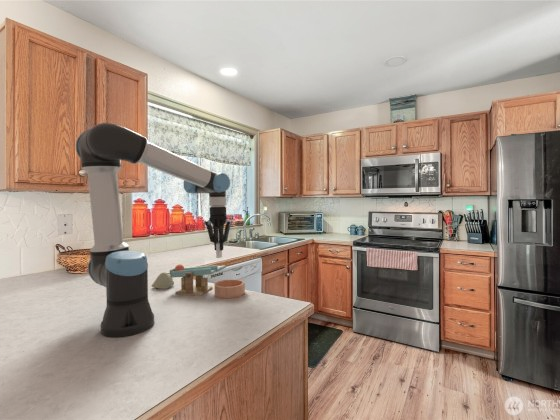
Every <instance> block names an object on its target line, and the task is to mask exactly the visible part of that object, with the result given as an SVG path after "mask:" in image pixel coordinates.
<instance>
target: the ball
mask: <svg viewBox="0 0 560 420" xmlns="http://www.w3.org/2000/svg"><path fill="white" fill-rule="evenodd" d="M174 268H175V271H183V270H184V268H185V266H184V265H183V264H179V263H178V264H177V265H175V267H174Z"/></svg>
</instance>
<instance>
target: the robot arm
mask: <svg viewBox="0 0 560 420" xmlns="http://www.w3.org/2000/svg"><path fill="white" fill-rule="evenodd" d="M75 151H76V154H77V155H78V157H79V158H80V163H81V164H80V166H81V170H83V171H84V172H85V173H86V174H87V179H88V180H87V182H88V190H89V199H90V210H91V220H92V231H93V233H92V234H93V242H94V244H93V246H92V247H91V248H90V249H89V255H90V260H89V261H88V264H87V273H88V275H89V277H90V279H92V281H93V282H94V283H95V284H98V285H99V286H101V287H102V286H103V287H105V289H106V290H105V291H106V292H105V293H106V294H105V295H106V307H105V310H104V313H103V317H102V321H101V322H100V334H101V335H102V336H104V337H108V338H120V337H121V338H122V337H128V336H132V335H136V334H139V333H142V332H145V331H147V330H149V329H150V328H152V326H153V325H154V324H155V314H154V312H153V311H152V308H151V303H150V302H149V283H148V281H149V279H148V277H149V276H148V271H149V270H148V268H149V264H148V258H147V255H146V254H145V253H143V252H141V251H137V250H134V251H133V250H130V248H129V244H127V243H126V242H125V241H124V234H123V225H122V215H121V214H122V213H121V201H120V191H119V179H118V173H119V172H120V170H122V161H124V162H128V163H130V164H133V165H136V164H142V165H144V166H146V167H149V168H150V169H151V168H152V169H155V170H156V171H160V172H162V173H165V174H166V175H170V176H171V177H174V178H177V179H179V180H183V189H184V191H185V192H186V193H187V194H192V195H193V194H208V195H209V198H208V199H209V200H208V201H209V206H210V207H209V219H208V220H207V221H204V225H205V227H206V230H207V233H208V236H209V237H208V238H209V240H210V241H209V242H210V243H213V244H214V245H213V246H214V251H215V252H216V256H215V257H216V259H221V258H223V251H224V244H225V243H226V242H228V239H229V234H230V229H231V226H232V224H233V221H231V220H229V219H228V217H227V207H226V206H227V191H228V190H229V188H230V185H231V179H230V177H229V175H227V174H226V173H225V172H219V171H218V172H215V171H213V170H210V169H208V168H206V167H203V166H201V165H199V164H197V163H195V162H193V161H191V160H188V159H186V158H184V157H182V156H179V155H178V154H176V153H173V152H172V151H169V150H168V149H165V148H163V147H160V146H158V145H156V144H154V143H151V142H149V141H148V138H147V137H146V136H145V135H141V134H140V133H138V132H135V131H133V130H131V129H128V128H126V127H125V126H123V125H122V126H121V125H120V124H119V125H118V124H117V123H110V122H103V123H97V124H96V125H93V127H91V128H89V129H87V130H84V131H83V132H82V133H80V134H79V136H78V138H77V139H76V142H75Z"/></svg>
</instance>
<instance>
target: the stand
mask: <svg viewBox="0 0 560 420" xmlns="http://www.w3.org/2000/svg"><path fill="white" fill-rule="evenodd" d="M208 278H209V277H208V276H207V277H204V275H198V276H195V285H194V276H193V273H191V272H186V273H185V277H180V283H181V284H180V287H181V289H178V290H177V291H175V295H185V296H188V295H189V296H197V297H199V296H200V297H201V296H202V295H204V294H206V293H208V292H209V291H211V290H213V289H212V288H213V287H214V286H209V285H208V284H209V282H208Z"/></svg>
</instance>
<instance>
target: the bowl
mask: <svg viewBox="0 0 560 420" xmlns="http://www.w3.org/2000/svg"><path fill="white" fill-rule="evenodd" d="M213 285H214V286H213V287H214V296H215V297H217V298H220V299H235V298H239V297H242V296H243V295H244V294H245V291H246V290H245V289H246V285H245V281H244V280H241V279H235V278H234V279H230V278H229V279H222V280H219V281H217V282H215V283H214V284H213Z"/></svg>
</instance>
